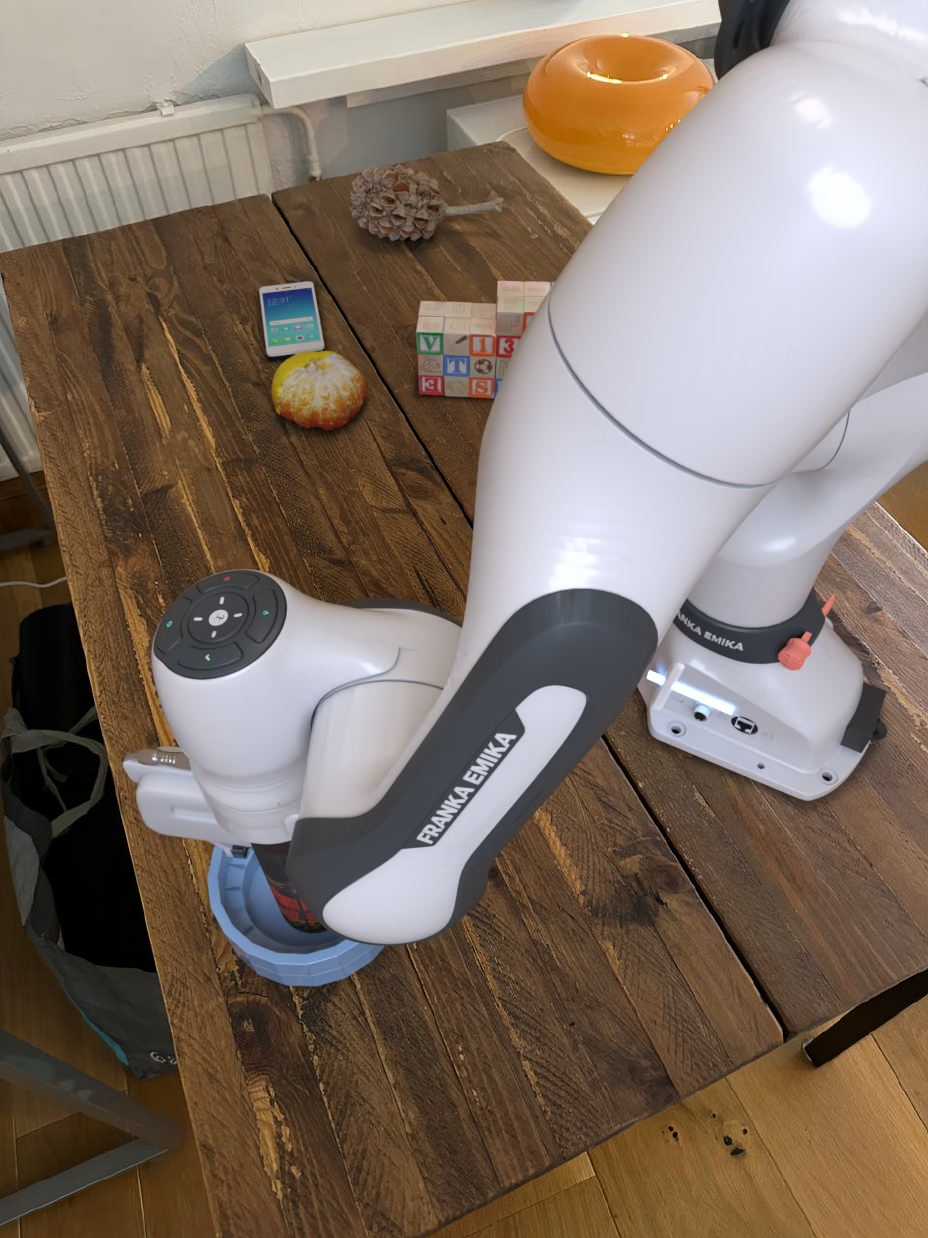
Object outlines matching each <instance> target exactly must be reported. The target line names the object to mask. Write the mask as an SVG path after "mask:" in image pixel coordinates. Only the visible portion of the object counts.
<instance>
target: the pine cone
mask: <svg viewBox="0 0 928 1238" xmlns="http://www.w3.org/2000/svg"><path fill="white" fill-rule="evenodd" d="M351 185H352V186H351V187H352V190H351V191H350V196H349V202H348V204H349V205H350V207H349V210H350V213H351V217H352V218H353V219H355V220H357V219H358V221H357V223H358V225H359V227H360V228H362V229H365V230H368V231H369V233H370V234H373V235H377V236H378V237H379V239H383V238H387V237H388V238H389V240H390V241H391V242H394V241H397V240H400V241H401V242H404V241H405V240H406V239H407V238H410V240H411V241H413V242H415V241H416V240H418V239H419V238H423V239H425V240H428V239H429V238H430V237H432V235H433V234H434V233H435V229H436V227H437V225H439V224H440V223H441V222H442V221H444V220H445V218H452V217H459V216H470V215H476V214H485V213H491V212H501V213H502V212H503V211H502V207H503V205H504V203H506V204H508V202H507V201H505V199H504V197H499V196H498V195H497V196H496V197H495V198H494V199H491V200H489V201H484V202H480V203H475V204H466V205H455V206H453V205H452V206H450V205H449V204H448V203H446V201H444V200H443V199H442V197H441V194H440V189H439V183H438V182H437V180H436V179H435V178H431V177H429V176H428V175H427V174H426V173H425V172H423V171H422V170H421V171H419V172H417V174H416V173H415V170H414V169H412V167H409V168H406V167H404V166H403V165H402V164H401V163H398V164H397V165H396V166H394V165H392V164H391V163H389V164H385V166H383V167H379V166H378V167H374V168H372V169H371V168H369V169H368V168H366V169H364V170H362V172H361V175H360V174H359V175H357V176H356V179H354V180H353V181H352V182H351Z"/></svg>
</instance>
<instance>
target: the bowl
mask: <svg viewBox="0 0 928 1238" xmlns="http://www.w3.org/2000/svg"><path fill="white" fill-rule="evenodd" d="M248 851H249V855H248V858H247V859H241V858H234V857H227V855H226V853H225V851H224V849H221V848H220V847H218V846H216V845H214V847H213V849H212V854H211V858H210V863H209V866H208V867H209V868H208V871H207V877H206V878H207V879H206V881H207V889H208V897H209V905H210V909H211V911H212V913H213V915H214V917H215V919H216V921H217V922H218V925H219V926H220V929H221V930H222V932H223V934H224V936H225V937H226V939H227V941H228V942H229V944H230V945H231V947H232V949H233V951H234V952H235V955H236V956H237V957H238V958H240V960H242V961H243V963H245V965H247V966H248V967H249V968H250V969H252V970H253V971H254V972H255V973H256V974H257V975H258V976H261V977H263V978H266V979H268V980H271V981H273V982H276V983H279V984H282V985H284V986H292V987H293V986H294V987H319V986H322V985H323V986H324V985H326V984H331V983H333V982H334V983H335V982H337V981H340V980H345V979H346V978H348V977H350V976H351V975H353V974H354V973H356V972H357V971H359V970H361V969H362V968H364V967H365V966H367V965H369V964H370V963H371V962H373V961H374V960H375V958H376V957H378V955H379V954H380V953H381V952H382V950H383V949H384V948H385V946H379V945H368V944H362V943H357V942H353V941H350V940H346V939H344V938H341V937H339V936H337V935H335V934H333V933H331V932H330V931H324V932H321V933H311V934H309V933H305V932H300V931H298V930H296V929H294V928H293V927H291V926H290V925H289V924H288V923H287V922H286V921H285V919H284V917H283V916H282V914H281V912H280V909H279V907H278V905H277V903H276V900H275V898H274V896H273V893H272V891H271V889H270V887H269V884H268V882H267V880H266V877H265V875H264V873H263V871H262V868H261V866H260V864H259V861H258V859H257V857H256V855H255V852H254V850H253V848H252V847H251V848H250V849H249V850H248Z"/></svg>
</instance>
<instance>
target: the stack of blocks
mask: <svg viewBox="0 0 928 1238" xmlns="http://www.w3.org/2000/svg"><path fill="white" fill-rule="evenodd" d="M554 283H555V281H551V282H550V281H530V280H526V281H521V280H519V281H518V280H497V289H496V302H495V303H486V302H482V303H481V302H470V301H469V302H468V301H466V302H465V301H437V300H436V301H434V300H420V303H419V309H418V315H417V324H416V330H415V335H416V336H415V338H416V353H417V375H418V394H419V395H422V396H445V397H457V398H475V399H477V398H478V399H495V397H496V394H497V392H498V389H499V386H500V384H501V381H502V379H503V376H504V374H505V371H506V369H507V366H508V364H509V361H510V359H511V357H512V354H513V352H514V350H515V348H516V346H517V344H518V342H519V340H520V338H521V336H522V334H523V333H524V331H525V329H526V327H527V326H528V324H529V322H530V321H531V319H532V317H533V316H534V314H535V312H536V311H537V309H538V308H539V306H540V304H541V303H542V301H543V300H544V298H545V296H546V295H547V293H548V292H549V290H550V289H551V287H552V286H553V284H554Z"/></svg>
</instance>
